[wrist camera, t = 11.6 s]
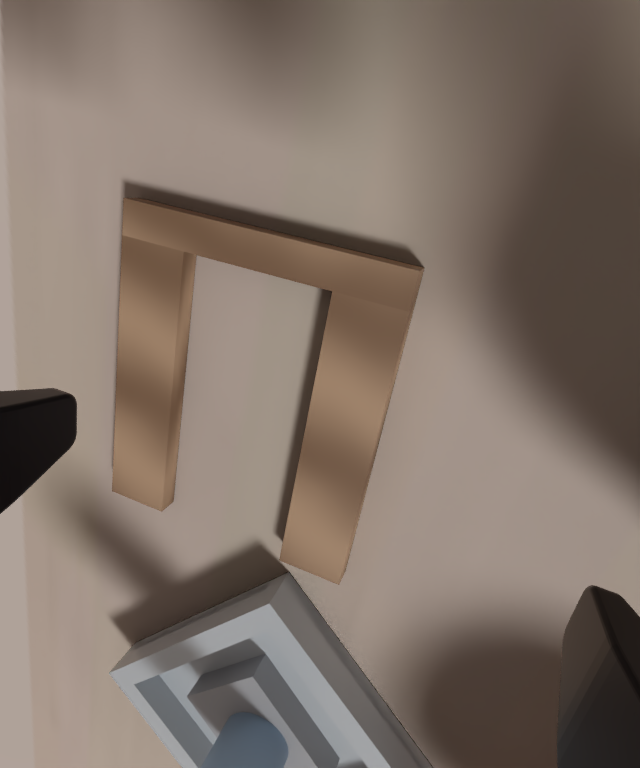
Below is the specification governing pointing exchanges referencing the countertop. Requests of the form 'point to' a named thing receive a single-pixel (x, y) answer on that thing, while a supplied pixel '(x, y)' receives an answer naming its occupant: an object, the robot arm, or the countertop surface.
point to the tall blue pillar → (258, 720)
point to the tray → (290, 657)
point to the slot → (333, 376)
